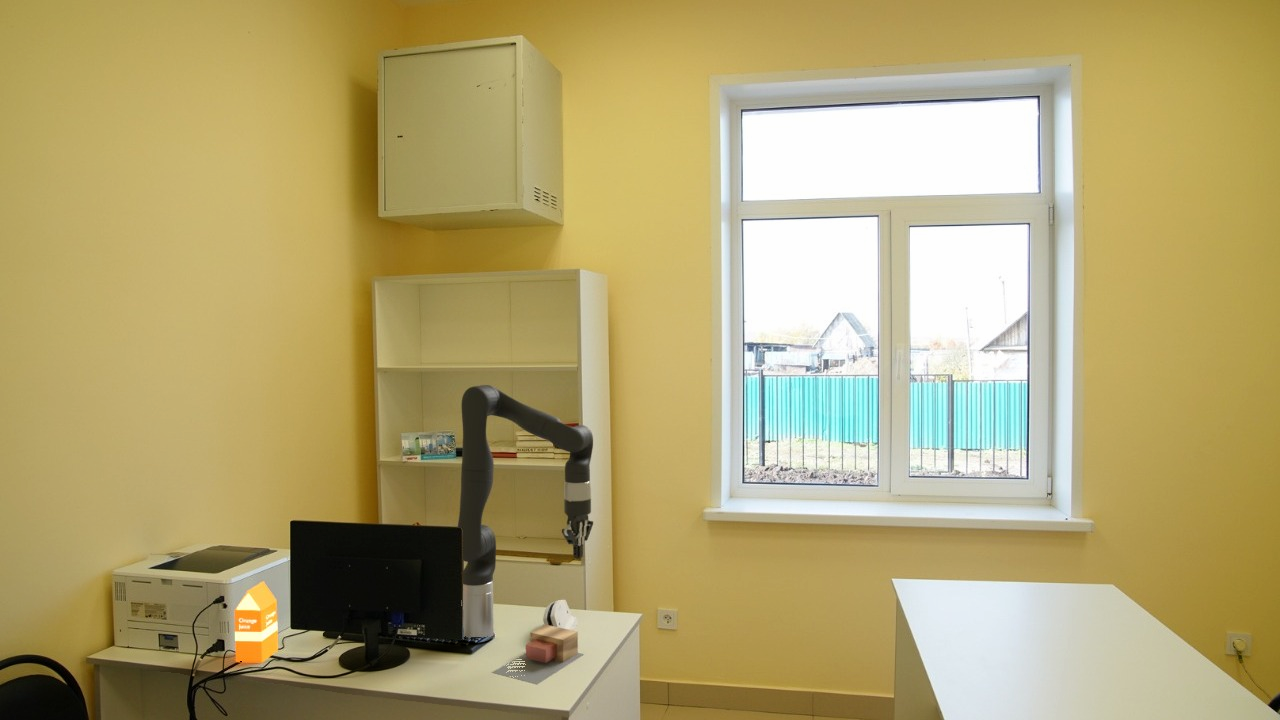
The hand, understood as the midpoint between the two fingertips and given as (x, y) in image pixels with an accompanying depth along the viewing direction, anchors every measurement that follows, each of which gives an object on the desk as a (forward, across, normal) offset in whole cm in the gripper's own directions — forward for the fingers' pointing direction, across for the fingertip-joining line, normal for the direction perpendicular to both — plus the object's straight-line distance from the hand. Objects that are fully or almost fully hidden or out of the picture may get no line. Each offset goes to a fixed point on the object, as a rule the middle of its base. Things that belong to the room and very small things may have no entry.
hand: (578, 557), depth 229 cm
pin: (+27, +6, -5) cm, 28 cm away
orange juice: (+27, +46, -78) cm, 95 cm away
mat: (+27, +12, -5) cm, 30 cm away
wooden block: (+27, +5, -5) cm, 28 cm away
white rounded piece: (+27, -10, -14) cm, 32 cm away
